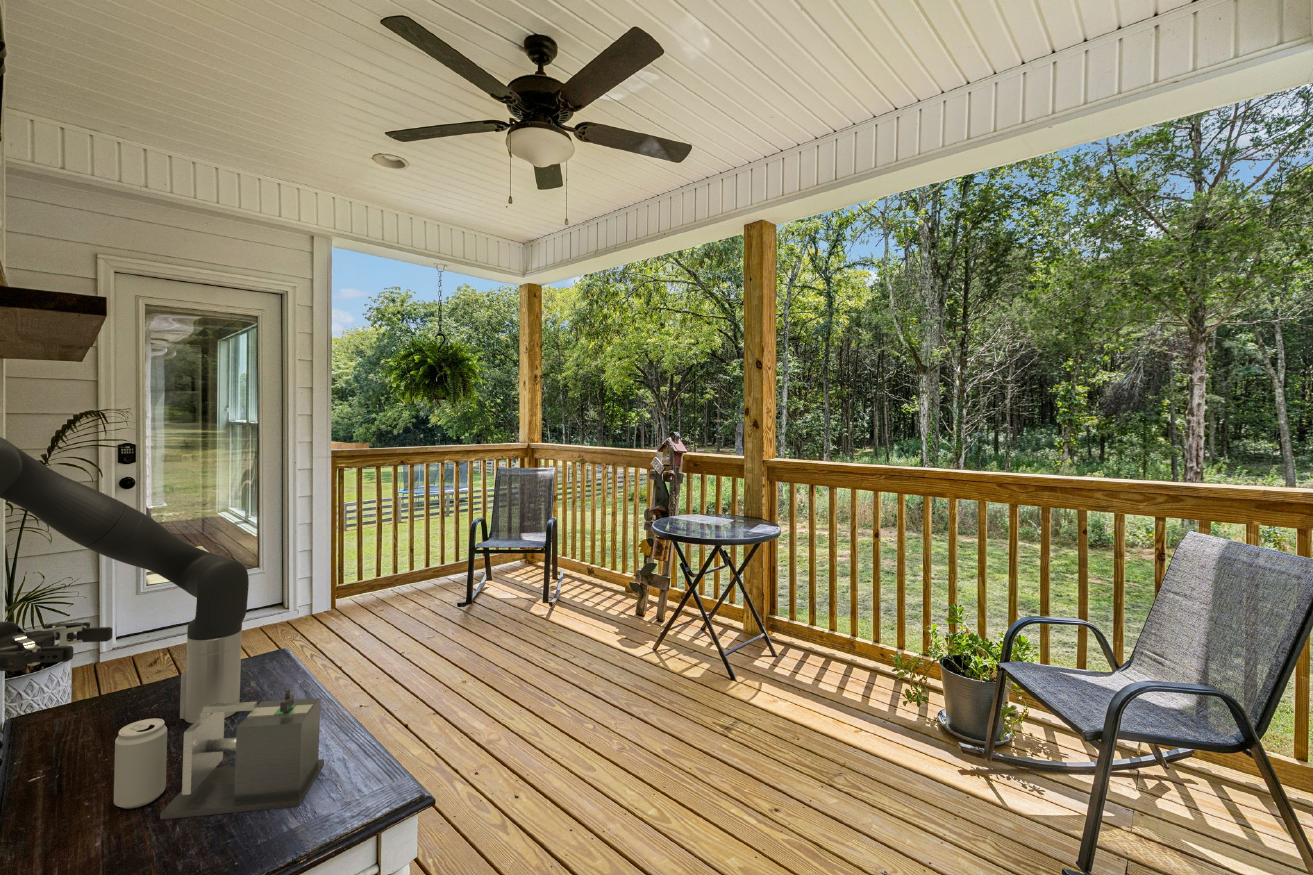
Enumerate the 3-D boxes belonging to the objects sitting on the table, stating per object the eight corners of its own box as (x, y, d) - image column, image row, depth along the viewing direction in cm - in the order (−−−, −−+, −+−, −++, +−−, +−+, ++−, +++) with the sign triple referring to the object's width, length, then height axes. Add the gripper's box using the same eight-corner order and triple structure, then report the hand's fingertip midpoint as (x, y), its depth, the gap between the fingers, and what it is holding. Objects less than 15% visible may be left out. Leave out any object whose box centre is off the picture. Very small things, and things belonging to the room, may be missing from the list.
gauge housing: (160, 819, 90) (162, 734, 90) (202, 774, 102) (204, 699, 102) (298, 806, 94) (301, 725, 94) (324, 764, 106) (326, 692, 106)
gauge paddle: (181, 794, 91) (184, 720, 91) (215, 759, 101) (217, 692, 101) (246, 789, 93) (248, 716, 93) (272, 755, 103) (274, 689, 103)
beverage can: (134, 814, 91) (136, 739, 91) (102, 807, 92) (104, 733, 92) (175, 790, 97) (177, 719, 97) (144, 784, 98) (146, 714, 98)
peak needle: (280, 711, 98) (280, 693, 97) (287, 703, 100) (287, 685, 100) (286, 711, 98) (287, 692, 98) (293, 703, 101) (294, 684, 101)
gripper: (-80, 640, 82) (58, 635, 86) (8, 609, 96) (123, 606, 100) (-81, 692, 82) (56, 685, 86) (7, 654, 96) (122, 649, 100)
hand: (92, 643), depth 93 cm, fingers open, 8 cm apart
